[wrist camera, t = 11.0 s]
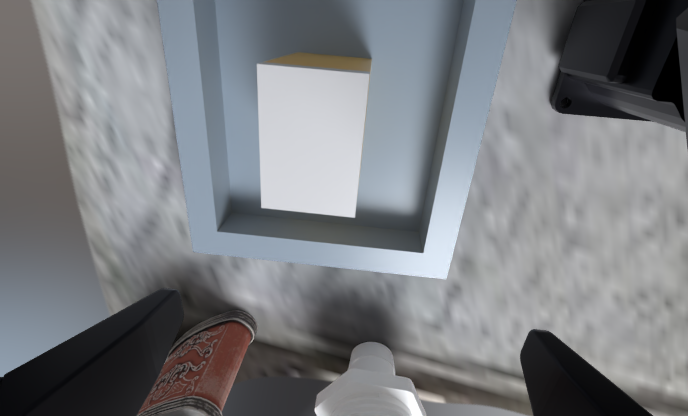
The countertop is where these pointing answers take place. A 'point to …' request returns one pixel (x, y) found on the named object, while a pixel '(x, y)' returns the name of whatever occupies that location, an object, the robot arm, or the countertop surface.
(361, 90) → the yellow and white block
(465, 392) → the countertop surface
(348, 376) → the pipe fitting
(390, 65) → the parts tray
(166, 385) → the lighter
